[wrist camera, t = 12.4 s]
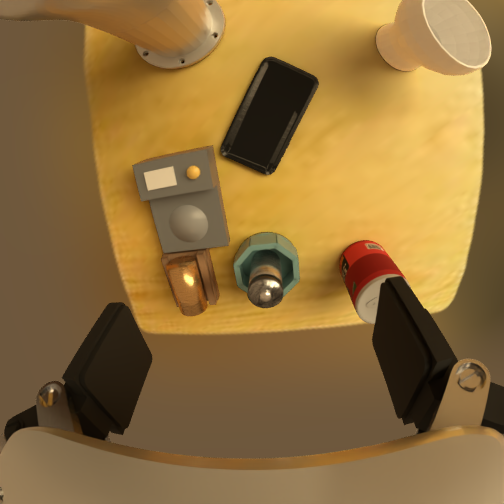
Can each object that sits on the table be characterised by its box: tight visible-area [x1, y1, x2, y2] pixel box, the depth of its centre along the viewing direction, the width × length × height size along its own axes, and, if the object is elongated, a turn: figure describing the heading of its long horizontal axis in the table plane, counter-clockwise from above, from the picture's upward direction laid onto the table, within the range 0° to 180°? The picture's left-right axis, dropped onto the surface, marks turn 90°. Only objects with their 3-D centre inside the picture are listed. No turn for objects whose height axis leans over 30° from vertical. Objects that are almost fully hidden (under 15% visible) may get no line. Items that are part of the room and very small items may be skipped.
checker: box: [132, 145, 230, 253], centre depth 37 cm, size 14×10×5 cm
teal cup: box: [233, 232, 300, 297], centre depth 41 cm, size 9×9×4 cm
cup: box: [376, 0, 491, 76], centre depth 20 cm, size 11×11×15 cm
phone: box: [221, 57, 319, 175], centre depth 33 cm, size 8×1×15 cm
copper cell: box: [166, 256, 208, 316], centre depth 41 cm, size 9×4×4 cm, turn 8°
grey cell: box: [248, 249, 283, 308], centre depth 39 cm, size 4×4×9 cm
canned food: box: [339, 240, 411, 324], centre depth 38 cm, size 8×8×11 cm
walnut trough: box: [161, 248, 219, 307], centre depth 43 cm, size 9×7×3 cm
